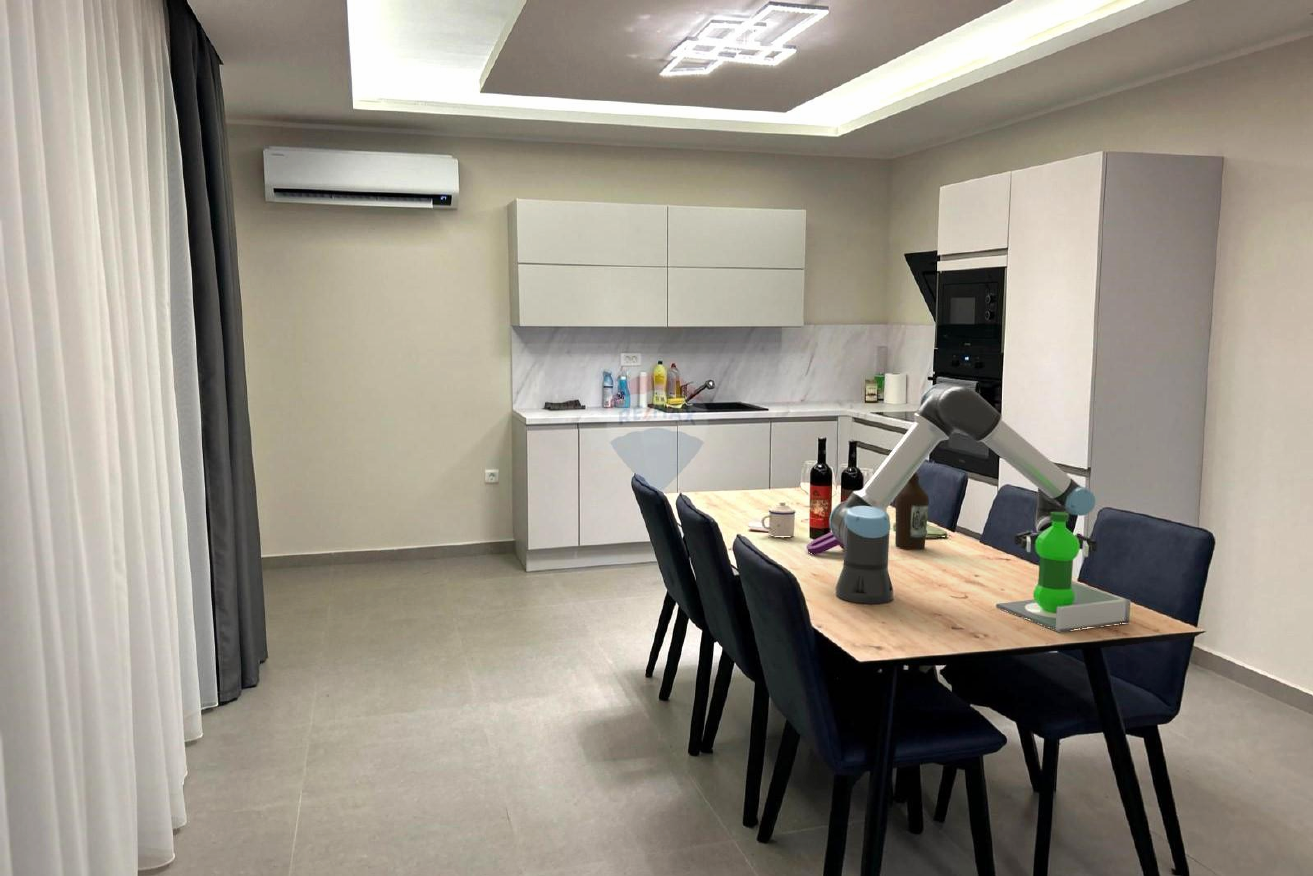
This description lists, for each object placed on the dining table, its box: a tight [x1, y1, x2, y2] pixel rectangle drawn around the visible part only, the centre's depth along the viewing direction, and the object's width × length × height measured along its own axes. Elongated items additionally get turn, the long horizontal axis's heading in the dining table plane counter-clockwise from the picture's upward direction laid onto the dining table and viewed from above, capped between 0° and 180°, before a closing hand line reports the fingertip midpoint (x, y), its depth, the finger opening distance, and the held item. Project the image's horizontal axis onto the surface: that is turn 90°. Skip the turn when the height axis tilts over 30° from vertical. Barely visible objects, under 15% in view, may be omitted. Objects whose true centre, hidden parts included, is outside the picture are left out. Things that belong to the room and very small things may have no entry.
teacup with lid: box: [760, 501, 796, 537], centre depth 333 cm, size 12×9×12 cm
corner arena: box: [995, 580, 1132, 633], centre depth 247 cm, size 22×22×6 cm
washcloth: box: [892, 522, 948, 539], centre depth 341 cm, size 13×18×3 cm
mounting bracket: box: [806, 531, 844, 555], centre depth 310 cm, size 9×8×18 cm
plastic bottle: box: [1033, 511, 1080, 613], centre depth 246 cm, size 10×10×25 cm
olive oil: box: [894, 470, 930, 550], centre depth 319 cm, size 11×11×25 cm
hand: (1057, 549), depth 247 cm, fingers open, 13 cm apart
